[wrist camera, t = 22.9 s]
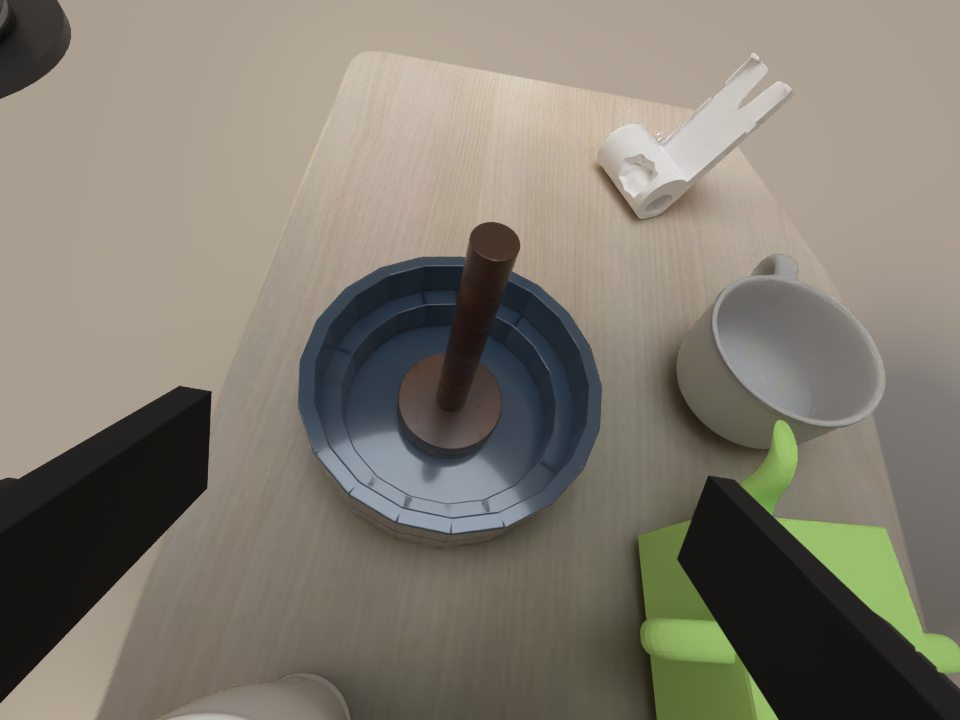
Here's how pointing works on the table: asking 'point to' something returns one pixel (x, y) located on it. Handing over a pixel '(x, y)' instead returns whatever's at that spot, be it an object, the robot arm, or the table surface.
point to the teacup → (778, 360)
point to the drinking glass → (269, 701)
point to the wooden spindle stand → (462, 357)
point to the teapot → (700, 641)
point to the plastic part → (688, 142)
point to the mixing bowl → (374, 405)
